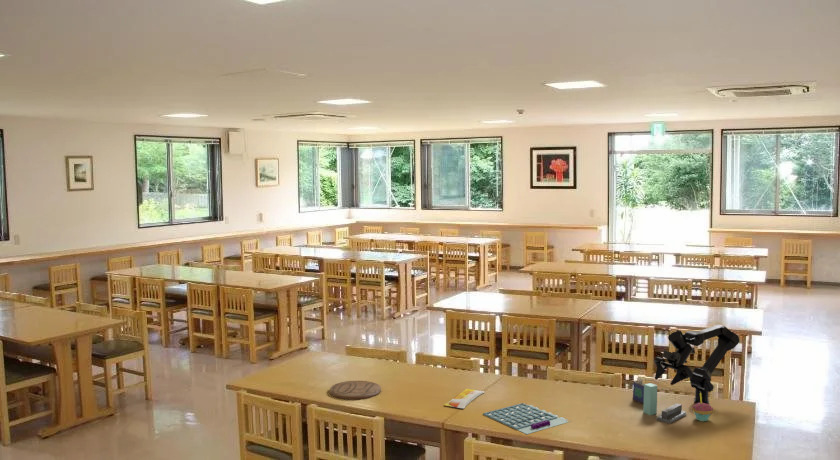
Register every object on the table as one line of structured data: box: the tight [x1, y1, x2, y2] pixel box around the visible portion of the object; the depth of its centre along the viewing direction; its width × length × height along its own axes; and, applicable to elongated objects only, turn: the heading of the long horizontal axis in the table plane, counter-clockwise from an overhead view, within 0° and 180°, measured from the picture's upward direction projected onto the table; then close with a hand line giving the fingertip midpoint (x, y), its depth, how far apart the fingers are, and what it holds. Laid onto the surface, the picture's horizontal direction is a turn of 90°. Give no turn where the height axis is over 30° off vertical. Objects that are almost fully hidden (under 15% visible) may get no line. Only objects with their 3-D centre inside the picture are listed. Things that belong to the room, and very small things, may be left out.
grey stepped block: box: [656, 403, 687, 425], centre depth 310 cm, size 15×6×4 cm, turn 134°
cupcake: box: [692, 392, 715, 422], centre depth 308 cm, size 9×8×12 cm
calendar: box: [482, 402, 572, 435], centre depth 310 cm, size 27×28×2 cm
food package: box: [443, 388, 486, 409], centre depth 335 cm, size 27×2×10 cm
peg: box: [642, 382, 658, 416], centre depth 315 cm, size 4×4×13 cm
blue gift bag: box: [632, 379, 645, 405], centre depth 331 cm, size 9×3×11 cm, turn 25°
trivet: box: [329, 380, 382, 401], centre depth 346 cm, size 25×25×2 cm
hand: (663, 381), depth 318 cm, fingers open, 9 cm apart
